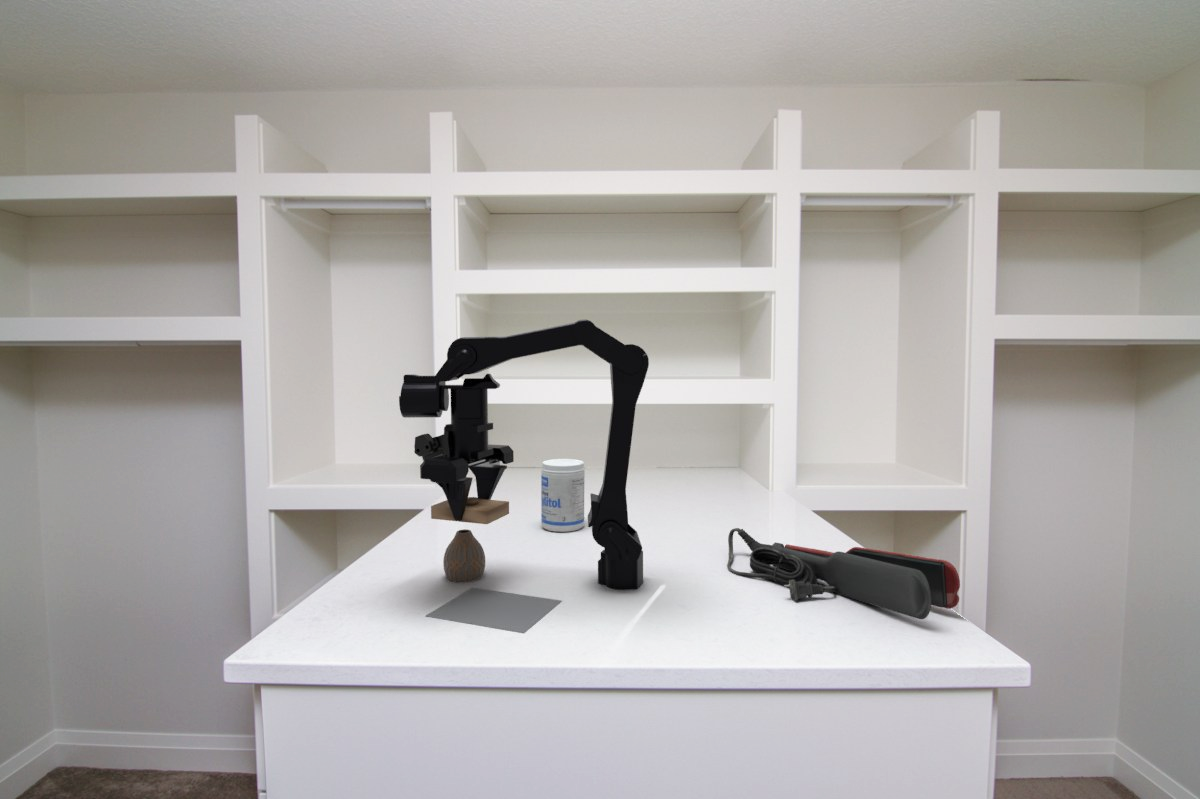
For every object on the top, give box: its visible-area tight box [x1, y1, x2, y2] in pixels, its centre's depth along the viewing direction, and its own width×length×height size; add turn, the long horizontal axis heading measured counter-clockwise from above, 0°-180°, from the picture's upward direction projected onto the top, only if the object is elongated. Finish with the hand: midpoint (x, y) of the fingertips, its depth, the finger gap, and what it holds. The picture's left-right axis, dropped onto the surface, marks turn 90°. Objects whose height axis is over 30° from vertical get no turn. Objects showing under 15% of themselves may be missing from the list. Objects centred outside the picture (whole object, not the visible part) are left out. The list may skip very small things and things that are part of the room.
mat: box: [425, 587, 563, 634], centre depth 93 cm, size 16×12×1 cm
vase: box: [442, 529, 486, 583], centre depth 106 cm, size 7×7×9 cm
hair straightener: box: [726, 527, 961, 620], centre depth 102 cm, size 16×40×8 cm, turn 34°
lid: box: [430, 496, 510, 525], centre depth 101 cm, size 10×7×3 cm
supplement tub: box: [540, 458, 585, 533], centre depth 140 cm, size 10×10×15 cm
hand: (470, 514), depth 101 cm, fingers closed on lid, 7 cm apart
